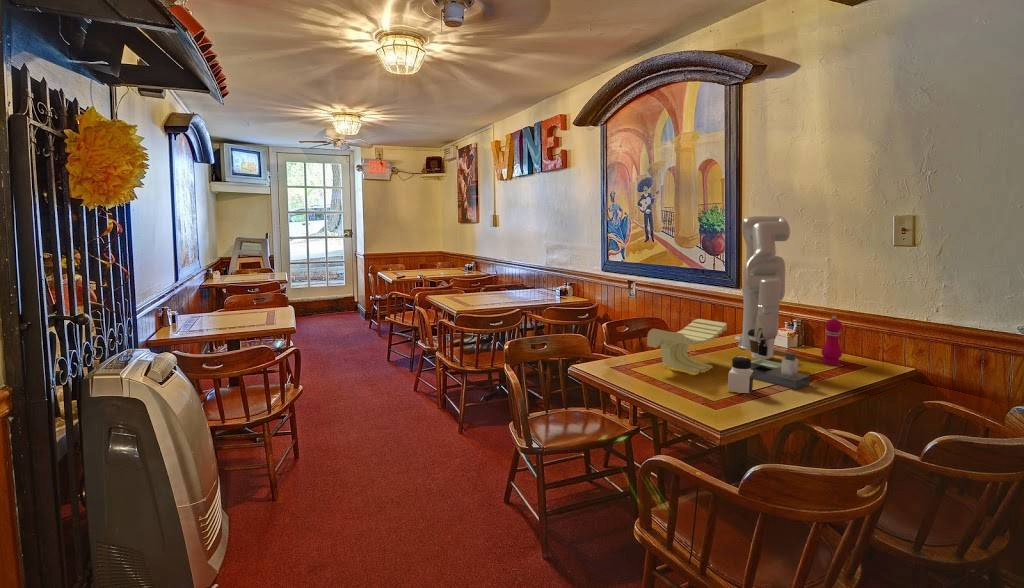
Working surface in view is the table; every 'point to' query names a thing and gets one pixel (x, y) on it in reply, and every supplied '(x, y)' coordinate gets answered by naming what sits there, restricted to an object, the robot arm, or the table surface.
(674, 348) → the slatted curved stool
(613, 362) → the table surface
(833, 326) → the pepper mill
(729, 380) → the medicine bottle
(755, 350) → the coffee cup
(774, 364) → the tray
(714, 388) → the table surface
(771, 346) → the plug
